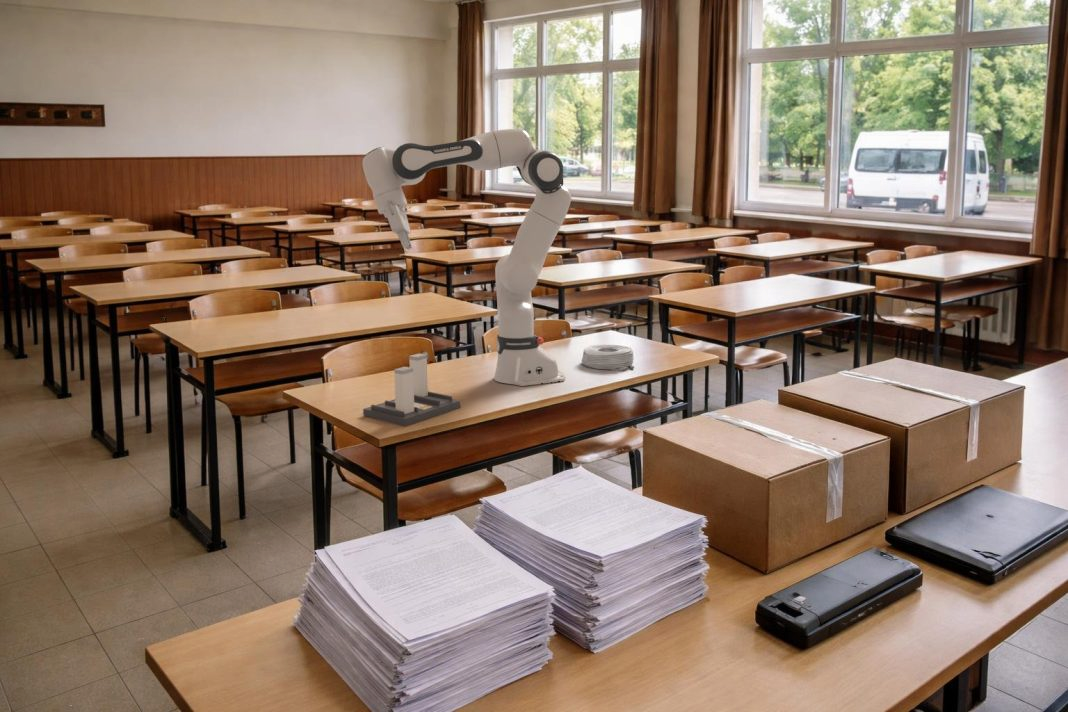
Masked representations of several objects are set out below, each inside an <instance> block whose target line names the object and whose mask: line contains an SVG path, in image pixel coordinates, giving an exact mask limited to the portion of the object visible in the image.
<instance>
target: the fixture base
mask: <svg viewBox="0 0 1068 712" xmlns="http://www.w3.org/2000/svg"><path fill="white" fill-rule="evenodd" d="M460 408H461V400H459V399H458V400H457V399H453V396H452V395H449V394H448V395H447V394H442V393H438V392H434V391H433V392H432V391H428V396H425V397H421V396H417V395H414V411H413V412H410V413H407V414H404V412H403V411H398V410H396V402H395V399H391V400H384V402H382V403H378V404H371V405H370V406H369V407H365V408H362V411H363V413H362V414H363V415H362V416H363V417H366V416H367V418H370V419H375V420H379V421H382V420H383V421H382V422H386V421H387V422H386V423H390V422H391V424H394V423H395V425H398V424H399V426H403V427H408V426H411V425H413V424H417V423H420V422H423V421H426V420H428V418H429V419H431V418H434V417H438V416H439V415H443V414H446V413H448V412H452V411H455V410H457V409H460ZM425 419H426V420H425ZM422 420H423V421H422ZM419 421H420V422H419ZM416 422H417V423H416Z"/></svg>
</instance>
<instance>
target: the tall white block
mask: <svg viewBox="0 0 1068 712" xmlns="http://www.w3.org/2000/svg"><path fill="white" fill-rule="evenodd" d="M427 356H428V355H427V354H426V353H425V354H424V353H419V352H418V353H416V354H412V355H409V358H408V360H409V362H408V363H409V367H410V368H413V383H414V395H417V396H421V397H425V396H428V390H429V388H428V387H429V386H428V384H429V383H428V382H429V381H428V357H427Z"/></svg>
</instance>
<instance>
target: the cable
mask: <svg viewBox="0 0 1068 712" xmlns="http://www.w3.org/2000/svg"><path fill="white" fill-rule="evenodd" d="M634 360H635V358H634V351H633V349H632V347H629V346H626V345H619V344H618V345H617V344H594V345H589V346H586V347H585V348H583V353H582V358H581V363H582V364H583V365H584V366H585V367H588V368H591V369H592V368H593V369H600V370H605V369H610V370H609V371H619V370H620V371H623V370H624V372H625V371H626V370H634V369H635V367H634V365H633V363H634Z"/></svg>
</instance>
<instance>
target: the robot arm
mask: <svg viewBox="0 0 1068 712" xmlns="http://www.w3.org/2000/svg"><path fill="white" fill-rule="evenodd" d="M531 138H532V137H530V134H529V133H528V132H527V131H526V130H525V129H521V128H507V129H506V128H505V129H497V130H492V131H488V132H487V131H486V132H483V133H479V134H477V135H473V136H471V137H468V138H464V139H462V140H457V141H453V142H447V143H441V144H434V145H424V144H423V145H422V144H418V143H412V142H408V143H404V144H402V145H400V146H398V147H397V148H396V149H389V148H385V147H384V146H379V147H376V148H374V149H372V150H371V151H369V152H367V153H365V155H364V156H363V159H362V162H361V163H362V168H363V169H362V170H363V172H364V175H365V179H366V181H367V184H368V186H369V187H370V189H371V192H372V198H373V200H374V203H375V206H376V209H377V212H378V214H379V215H383V216H384V218H386V219H387V221H388V223H389V226H390V228H391V231H392V233H394V234H395V235H396V236H397V238H398V239H399V241H400V243H401V247H402V248H404V249H406V250H411V249H412V248H413V246H412V243H411V240H410V234H411V228H410V227H411V226H410V223H409V220H408V216H407V211H406V209H407V205H408V202H407V198H406V195H405V193H404V190H403V188H402V187H405V186H412V185H413V186H414V185H418V183H420V182H422V181H423V179H424V178H425V177H426V173H427V172H429V171H430V170H432V169H433V170H434V169H438V168H443V167H444V168H445V167H449V166H456V165H465V166H469V167H470V168H472V169H473V170H475V171H493V170H498V169H502V168H503V169H504V168H507V167H516V169H517V171H518V173H519V176H520V177H521V178H522V180H523V181H524V182H525V184H528V185H530V186H532V187H534V189H535V195H534V201H533V202H532V204H531V206H530V207H529V209H528V210H527V213H526V215H525V217H524V218H523V221H522V223H521V225H519V229H518V230H517V233H516V237H515V240H514V243H513V245H512V248H511V250H510V253H508V254H505V255H503V256H502V257H501V258H500V259H498V261H497V262H496V263H495V271H494V273H495V274H494V275H495V290H496V291H495V292H496V301H497V310H498V311H497V314H498V315H497V316H498V319H497V321H498V325H497V326H498V334H497V336H496V338H497V339H496V352H497V362H496V367H495V373H494V375H493V379H494V381H496V382H498V383H503V384H507V385H508V384H509V385H514V386H520V387H526V386H534V385H541V383H543V384H550V383H551V382H552V383H558V381H560V382H564V381H565V380H566V376H565V373H564V372H562V371H561V370H559V368H558V362H557V360H556V358H555V357H554V356H553V355H552V354H551V353H549V352H548V351H546V350H545V349H544V348H542V347H541V346H540V345H544V343H545V341H544V338H543V337H540V336H538V335H536V334H534V333H535V332H534V330H535V329H534V327H535V326H534V325H535V324H534V323H535V322H534V320H535V318H534V317H535V316H534V315H535V314H534V313H535V312H534V305H533V298H532V291H533V290H534V289H535V287H536V286H537V284H538V279H539V278H540V275H541V272H542V269H543V266H544V264H545V262H546V258H547V256H548V254H549V251H550V249H551V246H552V244H553V243H554V241H555V239H556V236H557V234H558V233H559V231H560V229H561V227H562V225H563V223H564V221H565V219H566V216H567V214H568V212H569V209H570V205H571V202H572V195H571V191H570V190H569V189H568V188H567V187H566V186H564V165H563V162H562V160H561V158H560V157H559V156H558V155H557V154H556V153H554V152H553V151H548V150H543V149H536V148H535V147H534V146H533V141H532V139H531Z"/></svg>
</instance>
